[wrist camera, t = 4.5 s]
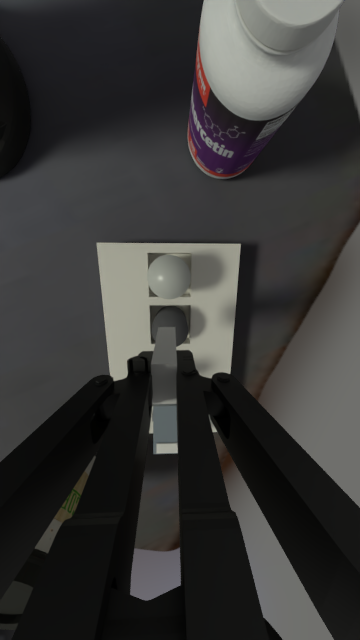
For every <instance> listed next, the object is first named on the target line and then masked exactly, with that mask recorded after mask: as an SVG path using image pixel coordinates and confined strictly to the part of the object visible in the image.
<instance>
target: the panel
mask: <svg viewBox="0 0 360 640" xmlns="http://www.w3.org/2000/svg"><path fill="white" fill-rule="evenodd" d="M240 248H241V244H191V243H97V250H98V260H99V270H100V280H101V290H102V299H103V309H104V319H105V329H106V338H107V348H108V358H109V368H110V376H112V377H113V380H114V381H117V380H121V379H124V378H126V377H127V375H128V369H127V360H128V359H130V358H131V357H134V356H138V354H139V353H141V352H142V351H154V347H155V342H156V341H155V340H154V338H153V336H152V331H151V330H152V325H153V322H154V319H155V316H156V314H157V312H158V311H159V310H160V309H161V308H163V307H165V306H176V307H178V308H180V309H181V310H182V311H183V312H184V314H185V316H186V320H187V324H188V329H189V332H188V336H187V338H186V340H185V341H184V342H183V343H182V344H181V345H179V346H177V347H176V350H190V351H191V352H192V353H193V358H194V362H195V367H196V370H198V372H199V375H201V376H203V377H207V378H212V375H214V374H215V373H218V372H224V373H228V374H230V372H231V359H232V347H233V335H234V322H235V310H236V298H237V285H238V273H239V261H240ZM163 255H174V256H177V257H179V258H181V259H182V260H183V261H184V262H185V263H186V264H187V265H188V267H189V270H190V273H191V281H190V285H189V287H188V289H187V291H186V292H185V293H184V294H183V295H181V296H180V297H178V298H175V299H164V298H161V297H159V296H157V295H156V294H155V293H154V292H153V291H152V290H151V288H150V287H149V284H148V280H147V274H148V269H149V267H150V265H151V264H152V262H153V261H154V260H155V259H157V258H158V257H160V256H163ZM209 419H210V416H209ZM210 423H211V427H212V432H217V430H216V428H215V427H214V425H213V423H212V421H211V419H210ZM149 433H153V406H152V415H151V423H150V430H149Z"/></svg>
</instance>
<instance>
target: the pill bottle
mask: <svg viewBox="0 0 360 640" xmlns="http://www.w3.org/2000/svg"><path fill="white" fill-rule="evenodd" d="M344 1H345V0H204V3H203V8H202V14H201V21H200V28H199V37H198V46H197V55H196V63H195V72H194V80H193V88H192V97H191V106H190V114H189V122H188V145H189V150H190V153H191V156H192V158H193V160H194V162H195V163H196V165H197V166H198V167H199V168H200V170H202V171H203V172H204V173H205V174H207V175H209V176H210V177H213V178H217V179H229V178H232V177H235V176H237V175H239V174H241V173H242V172H243V171H245V170H246V169H247V168H248V167H249V166H250V165H251V164H252V162H253V161H254V160H255V159H256V157H257V156H258V155H259V153H260V152H261V151H262V150H263V148H264V147H265V146H266V144H267V143H268V142H269V141H270V139H271V138H272V137H273V136H274V134H275V133H276V132H277V130H278V129H279V128H280V127H281V125H282V124H283V123H284V121H285V120H286V119H287V118H288V116H289V115H290V114H291V113H292V111H293V110H294V109H295V107H296V106H297V105H298V104H299V102H300V101H301V100H302V99H303V97H304V96H305V95H306V94H307V92H308V91H309V90H310V88H311V87H312V86H313V84H314V83H315V81H316V80H317V78H318V76H319V75H320V73H321V71H322V69H323V68H324V65H325V63H326V61H327V59H328V56H329V54H330V51H331V48H332V45H333V42H334V38H335V34H336V30H337V24H338V18H339V9H340V7H341V6H342V4H343V2H344Z"/></svg>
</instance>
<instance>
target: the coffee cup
mask: <svg viewBox="0 0 360 640" xmlns="http://www.w3.org/2000/svg"><path fill="white" fill-rule="evenodd" d="M95 458H96V456H94V457H93V459H92V460H91V462H90V464H89V465H88V467H87V468H86V470H85V471H84V473H83V474H82V476H81V477H80V479H79V480H78V482H77V484H76V485H75V487H74V488H73V490H72V491H71V493H70V494H69V496H68V497H67V499H66V500H65V502H64V504H63V505H62V507H61V508H60V510H59V511H58V513H57V514H56V516H55V517H54V519H53V520H52V522H51V524H50V525H49V527H48V528H47V530H46V531H45V533H44V534H43V536H42V537H41V539H40V540H39V542H38V544H37V545H36V547H35V548H34V550H33V551H32V553H31V554H30V556H29V557H28V559H27V560H26V562H25V564H24V565H23V567H22V568H21V570H20V571H19V573H18V574H17V576H16V577H15V579H14V580H13V582H12V584H11V585H10V587H9V588H8V590H7V591H6V593H5V594H4V596H3V597H2V599H1V600H0V629H5V630H16V628H17V625H18V623H19V621H20V618H21V616H22V614H23V611H24V609H25V607H26V604H27V602H28V599H29V597H30V595H31V592H32V590H33V588H34V585H35V583H36V580H37V578H38V576H39V573H40V571H41V569H42V566H43V564H44V561H45V559H46V557H47V554H48V552H49V550H50V547H51V545H52V542H53V540H54V538H55V536H56V534H57V532H58V530H59V528H60V526H61V525H62V523H63V522H64V521H65V520H66V519H69V518H71V517H72V516H73V514H74V512H75V510H76V507H77V505H78V502H79V499H80V497H81V494H82V492H83V489H84V486H85V484H86V481H87V479H88V476H89V473H90V471H91V468H92V466H93V463H94V460H95Z"/></svg>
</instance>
